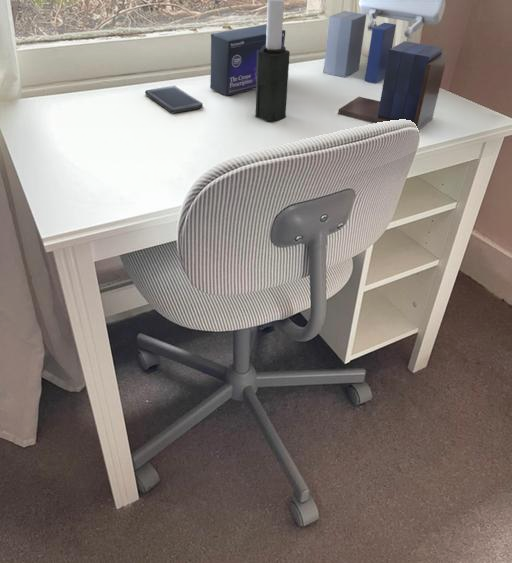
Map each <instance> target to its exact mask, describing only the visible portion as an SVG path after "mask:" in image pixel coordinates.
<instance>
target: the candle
mask: <svg viewBox="0 0 512 563" xmlns="http://www.w3.org/2000/svg"><path fill="white" fill-rule="evenodd" d="M284 3H285V0H267V4H266V5H267V8H266V24H267V31H266V45H263V46H262V48H261V49H260V50H258V51H257V73H256V89H255V110H254V112H255V113H254V116H255V118H257V119H261V120H262V121H265V122H268V123H275V122H278V121H280V120H283V119H285V118H286V115H287V99H288V84H289V69H290V55H291V54H290V50H288V49H287V48H286V46H285V45H284V46H281V43H282V30H283V24H284V23H283V22H284V5H285V4H284Z"/></svg>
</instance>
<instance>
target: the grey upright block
mask: <svg viewBox="0 0 512 563" xmlns="http://www.w3.org/2000/svg"><path fill="white" fill-rule="evenodd" d="M366 20H367V14H363V13H361V12H353V11H347V10H343V11H340V12H337V13H335V14H332V15H329V18H328V24H327V33H326V34H327V35H326V44H325V53H324V54H325V55H324V63H323V74H327V75H332V76H337V77H341V78H346V77H349V76H351V75H352V74H354V73H356V72H358V71H359V70H360V63H361V56H362V51H363V50H362V48H363V41H364V34H365V27H366Z"/></svg>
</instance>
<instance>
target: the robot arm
mask: <svg viewBox="0 0 512 563" xmlns="http://www.w3.org/2000/svg"><path fill="white" fill-rule="evenodd" d="M358 6H359V9H360V11H361V12H360V13H361V14H366V16H369V23H368V25H367V30H368V32H372V28H374V27H376V26H378V24H377V21H376V19H377V17H380V18H385V19H386V18H387V19H392V20H399V21H405V22H411V23H413V24H412V25H411V26H406V28H405V31H404V37H405V38H409V39H412V38H413V35H414V33H415V32H417V31H418V30H419V29H421V28H422V26H423V24H424V25H430V26H436V25H437V24H439V23H440V22H441V20H442V18H443V15H444V12H445V9H446V0H359V1H358Z"/></svg>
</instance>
